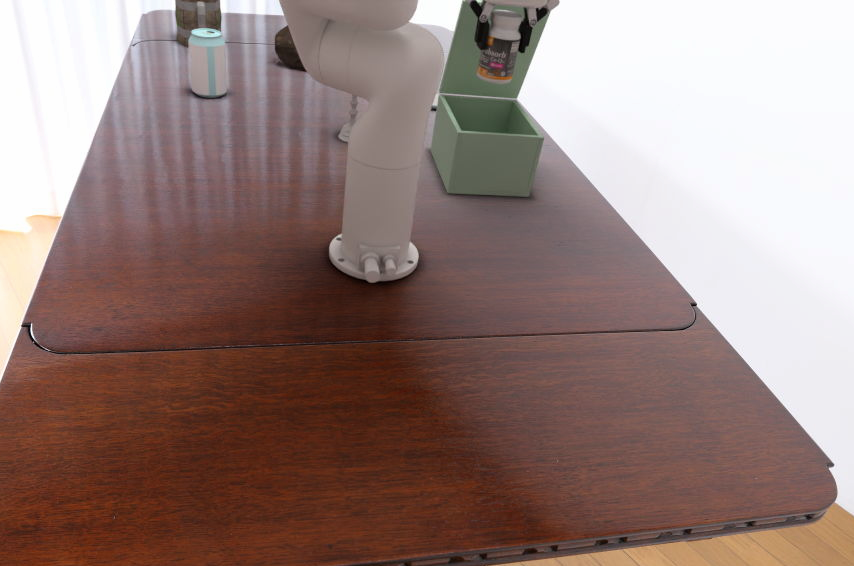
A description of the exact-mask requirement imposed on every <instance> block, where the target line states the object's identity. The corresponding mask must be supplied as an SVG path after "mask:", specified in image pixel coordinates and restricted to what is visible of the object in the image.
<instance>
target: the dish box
mask: <svg viewBox="0 0 854 566" xmlns="http://www.w3.org/2000/svg"><path fill="white" fill-rule="evenodd" d="M438 94H439V97H438V104H437V109H435V110H436V111H435V116H434V122H433V123H434V125H433V131H432V137H431V144H430V150H429V151H430V153H431V156H432V159H433V161H434V164H435V166H436V168H437V170H438V172H439V176H440V178H441V182H442V183H443V186H444V188H445V191H446V194H457V195H478V196H479V195H480V196H499V197H519V198H520V197H522V198H529V197H530V196H531V192H532V188H533V184H534V180H535V176H536V172H537V167H538V165H539V160H540V156H541V153H542V148H543V145H544V141H545V137H544V135H543V134H542V132H541V131H540V130H539V129H538V127H537V125H535V123H534V122H533V120H532V119H531V117H529V115H528V114H527V112H526V111H525V110H524V108H523V107H522V106H521V104H520V103H519V102H518V100H517V99H512V98H498V97H484V96H470V95H456V94H444V95H440V94H441V93H438Z"/></svg>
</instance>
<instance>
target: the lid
mask: <svg viewBox="0 0 854 566" xmlns="http://www.w3.org/2000/svg"><path fill="white" fill-rule="evenodd" d="M476 1H477V2H478V3H479V5H480V4H481V2H482V0H476ZM493 10H507V11H512V12H516V13H518V14H520V15H522V20H521V21H523V19H524V11H523V7H517V6H506V5H496V4H495V6H494V8H493ZM493 10H492V11H493ZM551 12H552V10H551V11H550V12H548V13H547V15H546V16H544V17H543V18H542V19H541V20H540V21H538V22H537V24H536V26H534V27H533V29H532V33H531V38H530V43H529V46H528V47H526V49H525V53H520V52H519V51H518V52H517V57H516V62H515V66H514V71H513V76H512V79H511V81H510V82H509V83H506V84H494V83H489V82H486V81H483V80H481V79H480V78H479V77H478V76H477V70H478V64H479V59H480V54H481V50H480V49H479V48H478V46H477V42H475V40H474V38H475V32H476V26H477V20H478V18H477V16H476V15H475V13H474V12H473V10H472V9H471V8H470V6H469V5H468V3H467V2H466V1H465V0H462V1H461V4H460V8H459V12H458V15H457V20H456V23H455V27H454V31H453V35H452V38H451V43H450V47H449V50H448V54H447V59H446V63H445V65H444V69H443V73H442V76H441V80H440V84H439V88H438V91H439V92H438V94H444V95H458V96H472V97H486V98H500V99H514V100H517V99H518V97H519V94H520V92H521V89H522V87H523V84H524V81H525V79H526V77H527V74H528V71H529V69H530V66H531V65H532V64H531V63H532V61H533V59H534V56H535V53H536V51H537V48H538V46H539V43H540V40H541V38H542V35H543V32H544V30H545V27H546V25H547V22H548V19H549V17H550V14H551ZM491 13H492V12H491ZM491 13H490V15H489V17H488V23H489V24H490V25H491V20H490V17H491ZM518 30H519V26H518Z"/></svg>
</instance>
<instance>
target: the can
mask: <svg viewBox="0 0 854 566" xmlns="http://www.w3.org/2000/svg"><path fill="white" fill-rule="evenodd" d="M191 33H192V35H191V36H190V38H189V40H188V42H189V47H188V54H189V55H188V56H189V68H190V69H189V70H190V85H191V91H192V92H193V93H195V95H198V96H199V97H203V98H207V99H208V98H209V99H211V98H212V99H214V98H220V97H222V96H224V95H225V94H226V93H227V92H228V77H227V75H228V73H227V51H226V50H227V48H226V47H227V46H226V40H225V39H224V37H223V36H222V35H223V33H222V31H221V32H220V31H218V30H214V29H207V28H200V29H194V30H192V31H191Z"/></svg>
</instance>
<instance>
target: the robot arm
mask: <svg viewBox="0 0 854 566" xmlns="http://www.w3.org/2000/svg"><path fill="white" fill-rule="evenodd" d="M465 1H466V2H467V3H468V5H469V6H470V8H471V9H472V10H473V12H474V13H475V15H476V16H477V18H478V20H477V26H476V32H475V38H474V40H475V42H477V46H478V48H479V49H480V50H484V49H485V48H486V43H487V37H488V32H489V27H490V24H489V23H488V17H489V15H490V13H491V12H492V10H493V8H494V6H495V4H496V5H506V6H517V7H523V11H524V19H523V21H521V24H520V25H519V32H520V34H521V39H520V43H519V48H518V51H519V52H520V53H525V49H526V47H528V46H529V43H530V38H531V33H532V29H533V27H534V26H536V24H537V22H538V21H540V20H541V19H542V18H543V17H544V16H546V15H547V13H548V12H550V11H551V12H552V11H553V10H554V9H555V8H556V7H558V6H559V5H560V2H561V1H560V0H482V2H481V4H480V5H479V3H478V2H477V1H476V0H465ZM278 2H279V6H280V7H281V11H282V14H283V16H284V18H285V19H284V20H285V22H286V24H287V25H288V27H289V30H290V33H291V35H292V38H293V41H294V44H295V46H296V49H297V52H298V54H299V57H300V59H301V62H302V64H303V66H304V68H305V69H306V70H305V71H306V73H307V74H308V75H309V76H310V77H311V78H312V79H313V80H314V81H316V82H318V83H319V84H321V85H324V86H326V87H329V88H331V89H335V90H338V91H342V92H344V93H348V94H351V95H352V94H353V95H356V96H357V98H360V99H363V100H365V101H367V102H368V107H367V109H366V110H365V111H364V113H362V115H360V116H359V117H358V119H356V120H355V121H356V122H355V123H354V125H353V127H352V129H351V131H350V134H349V140H348V142H347V155H346V170H345V182H344V183H345V184H344V198H343V207H342V208H343V210H342V223H341V224H342V225H341V233H340V234H338V235H336V236H335V237H334V238H332V240H331V241H330V242H329V247H328V257H329V260H330V262H331V263H332V265H333V266H335V267H336V268H337V270H339V271H341V272H342V273H344V274H346V275H348V276H351V277H352V278H355V279H359V280H364V281H367V282H368V283H371V284H374V283H377V282H388V281H389V282H390V281H395V280H399V279H403V278H404V277H407V276H409V275H410V274H411V273H413V272H414V271H415V269H416V268H417V267H418V263H419V258H420V257H419V256H420V255H419V251H418V249H417V247H416V246H415V244H414V243H413V242H411V236H412V235H411V234H412V231H413V223H414V215H415V208H416V201H417V195H418V188H419V181H420V173H421V168H422V167H421V166H422V162H423V161H422V159H423V152H424V145H425V140H426V133H427V129H428V124H429V119H430V116H431V111H432V109H431V107H432V104H433V101H434V98H435V95H436V94H437V92H438V90H439V87H440V84H441V81H442V77H443V73H444V68H445V52H444V49H443V46H442V43H441V42H440V40H439V39H438V38H437V36H436V35H435V34H433V32H431V31H430V30H428V29H427V28H425V27H423V26H421V25H419V24H416V23H413V22H411V20H412V18H413V17H414V15H415V13H416V11H417V9H418V4H419V0H278ZM551 12H550V13H551ZM287 25H286V26H287Z"/></svg>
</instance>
